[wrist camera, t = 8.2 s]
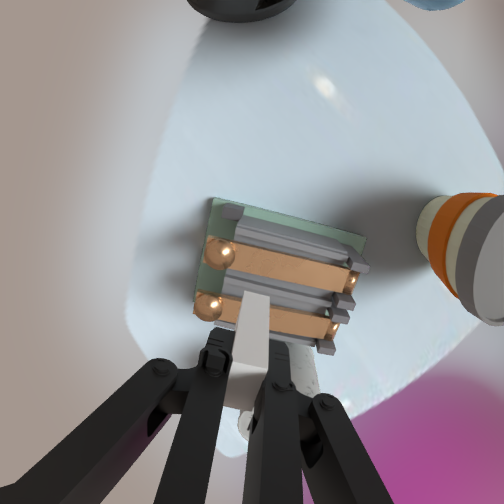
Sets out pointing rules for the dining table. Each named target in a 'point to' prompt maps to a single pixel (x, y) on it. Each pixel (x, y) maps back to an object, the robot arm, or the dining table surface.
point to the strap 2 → (280, 318)
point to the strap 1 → (278, 265)
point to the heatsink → (290, 241)
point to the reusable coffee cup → (467, 250)
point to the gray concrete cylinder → (300, 376)
